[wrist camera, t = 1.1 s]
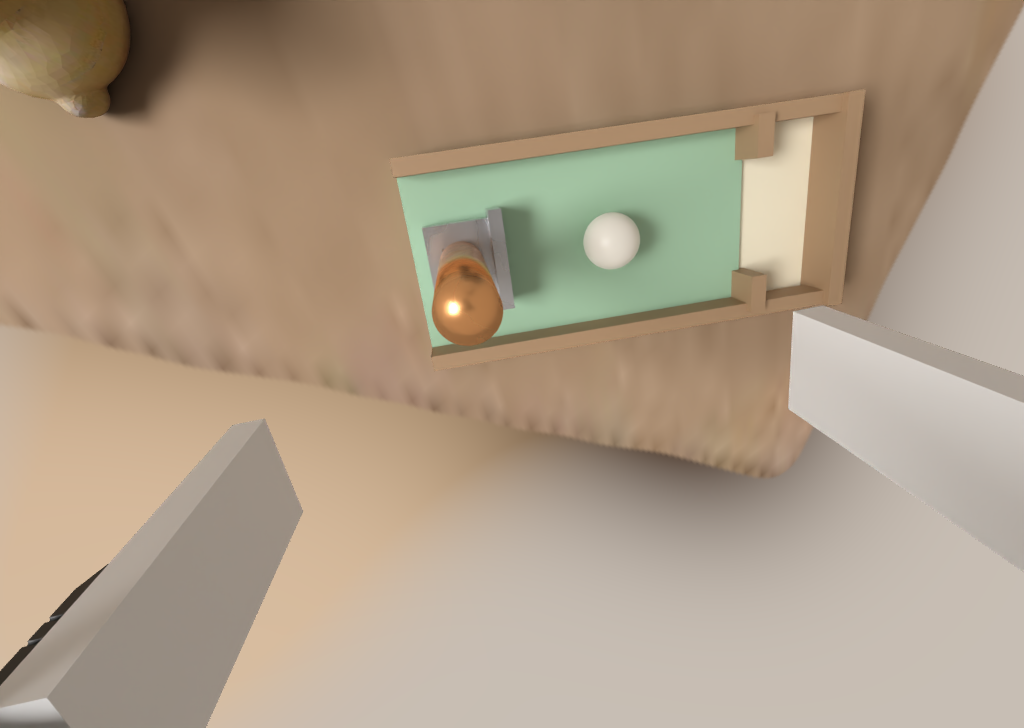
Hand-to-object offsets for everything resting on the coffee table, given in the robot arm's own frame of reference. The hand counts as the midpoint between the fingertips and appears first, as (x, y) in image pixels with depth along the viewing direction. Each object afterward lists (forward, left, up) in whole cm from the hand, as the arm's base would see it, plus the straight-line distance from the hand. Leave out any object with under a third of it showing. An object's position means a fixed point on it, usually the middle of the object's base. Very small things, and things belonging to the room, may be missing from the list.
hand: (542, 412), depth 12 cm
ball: (-1, +8, -20) cm, 21 cm away
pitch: (-1, +9, -23) cm, 24 cm away
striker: (-1, -1, -21) cm, 21 cm away
